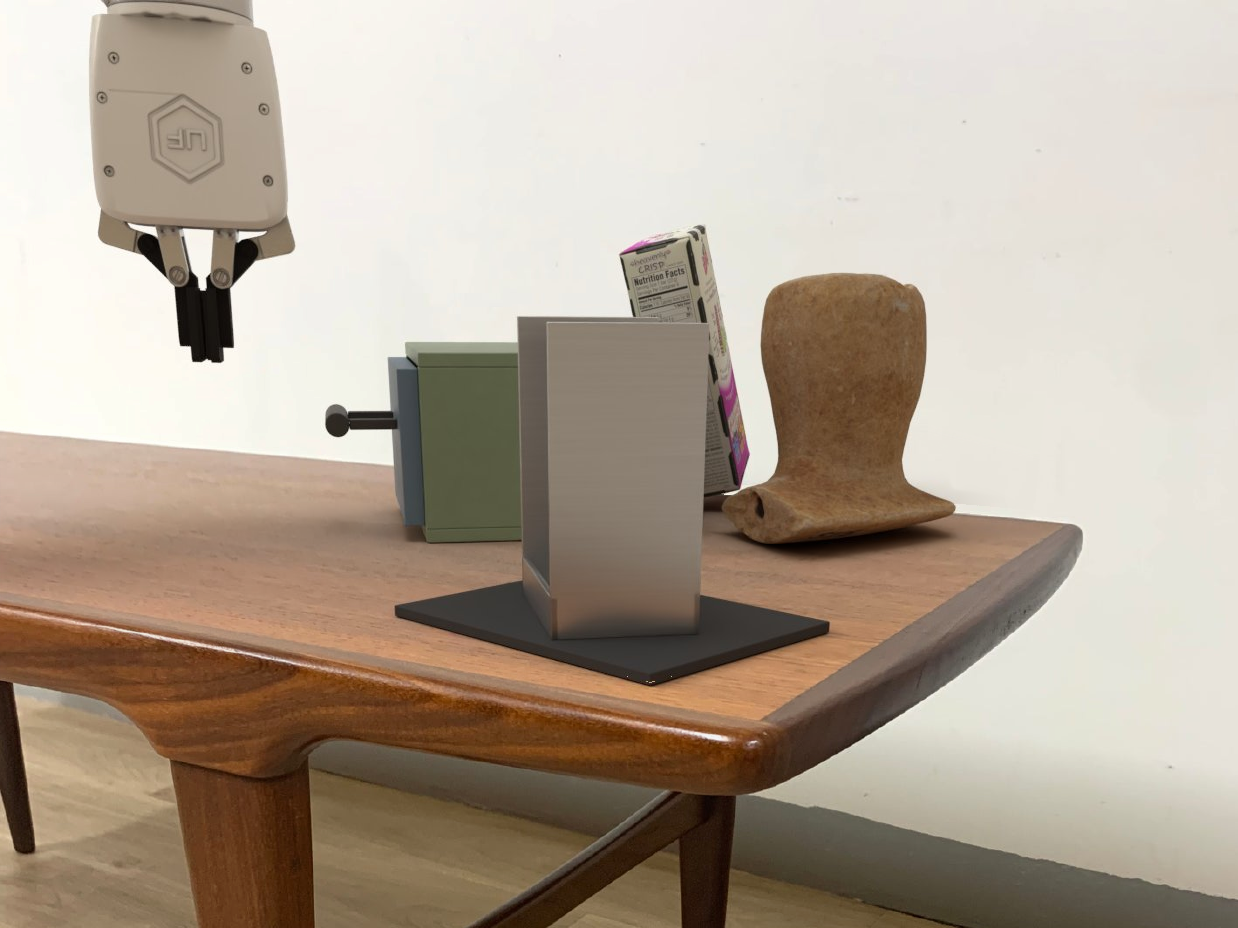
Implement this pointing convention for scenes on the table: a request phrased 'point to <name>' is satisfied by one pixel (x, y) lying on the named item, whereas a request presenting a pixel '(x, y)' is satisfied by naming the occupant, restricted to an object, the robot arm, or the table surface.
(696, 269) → the candy bar box
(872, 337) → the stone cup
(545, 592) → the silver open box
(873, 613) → the table surface
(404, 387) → the drawer
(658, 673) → the desk pad
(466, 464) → the cabinet
